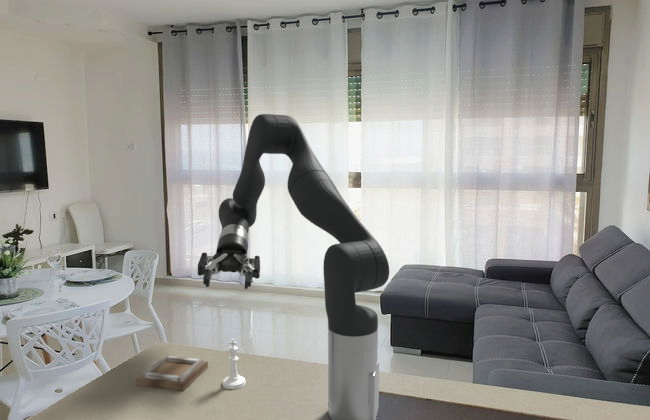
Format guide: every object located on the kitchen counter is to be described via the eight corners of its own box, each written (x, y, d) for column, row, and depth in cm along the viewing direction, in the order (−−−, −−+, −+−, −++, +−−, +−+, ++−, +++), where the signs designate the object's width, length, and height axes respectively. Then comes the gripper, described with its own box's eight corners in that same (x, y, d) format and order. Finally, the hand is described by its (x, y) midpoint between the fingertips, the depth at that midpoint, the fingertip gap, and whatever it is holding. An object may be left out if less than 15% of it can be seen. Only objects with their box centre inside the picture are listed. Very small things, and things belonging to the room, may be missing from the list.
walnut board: (208, 367, 111) (207, 358, 110) (183, 391, 100) (182, 380, 100) (165, 363, 113) (165, 353, 113) (137, 385, 103) (136, 374, 102)
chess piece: (240, 390, 100) (239, 344, 99) (218, 388, 101) (217, 342, 100) (249, 379, 105) (248, 335, 104) (228, 377, 106) (226, 334, 105)
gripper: (204, 230, 118) (194, 269, 104) (262, 234, 120) (260, 272, 106) (204, 255, 122) (194, 296, 108) (260, 258, 124) (258, 299, 109)
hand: (227, 284), depth 107 cm, fingers open, 8 cm apart
